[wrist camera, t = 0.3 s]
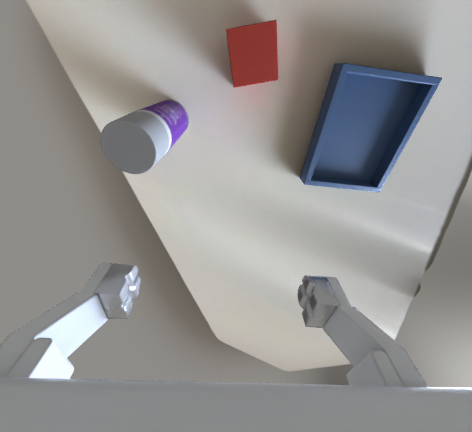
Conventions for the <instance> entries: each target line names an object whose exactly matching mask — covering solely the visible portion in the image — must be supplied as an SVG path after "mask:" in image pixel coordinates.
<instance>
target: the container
mask: <svg viewBox="0 0 472 432" xmlns="http://www.w3.org/2000/svg"><path fill="white" fill-rule="evenodd" d="M188 123H189V119H188V114H187V112H186V110H185V109H184V107H183V106H182V105H181V104H179V103H178V102H176V101H173V100H166V101H162V102H160V103H157V104H154V105H151V106H148V107H146V108H143V109H140V110H137V111H135V112H132V113H130V114H128V115H126V116H123V117H121V118H119V119H117V120H115V121H112V122H110V123H109V124H107V125H106V126H105V127H104V129H103V131H102V133H101V146H102V150H103V152H104V154H105V156H106V157H107V159H108V160H109V161H110V162H111V163H112V164H113V165H114V166H115V167H117V168H118V169H120V170H122V171H124V172H127V173H131V174H141V173H144V172H146V171H148V170H149V169H151V168H152V167H153V166H154V165H155V164H156V163H157V162H158V161H159V160H160V159H161V158H162V157H163V156H164V155H165V154H166V153H167V152H168V150H169V149H170V148H171V147H172V146H173V145H174V143H175V142H176V141H177V140H178V139H179V138H180V136H181V135H182V134H183V133H184V132H185V130H186V129H187V127H188Z"/></svg>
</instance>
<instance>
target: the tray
mask: <svg viewBox="0 0 472 432" xmlns="http://www.w3.org/2000/svg"><path fill="white" fill-rule="evenodd" d="M441 80H442V78H439V77H433V76H426V75H420V74H413V73H407V72H400V71H394V70H387V69H380V68H374V67H367V66H361V65H354V64H348V63H339V64H335V65H334V68H333V71H332V74H331V78H330V81H329V84H328V87H327V91H326V94H325V97H324V101H323V104H322V107H321V110H320V114H319V117H318V120H317V123H316V127H315V130H314V133H313V136H312V140H311V143H310V146H309V149H308V153H307V156H306V159H305V163H304V166H303V169H302V172H301V176H300V179H301V180H302V182H303V183H304V184H305V185H315V186H324V187H334V188H343V189H353V190H362V191H372V192H380V190H381V188H382V186H383V185H384V183H385V181H386V179H387V177H388V176H389V174H390V172H391V170H392V168H393V167H394V165H395V163H396V161H397V159H398V158H399V156H400V154H401V152H402V150H403V149H404V147H405V145H406V143H407V141H408V139H409V138H410V136H411V134H412V132H413V130H414V129H415V127H416V125H417V123H418V121H419V120H420V118H421V116H422V114H423V112H424V111H425V109H426V107H427V105H428V103H429V102H430V100H431V98H432V96H433V94H434V92H435V91H436V89H437V87H438V86H437V85H439V83H440V81H441Z"/></svg>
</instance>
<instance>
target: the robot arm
mask: <svg viewBox="0 0 472 432" xmlns="http://www.w3.org/2000/svg"><path fill="white" fill-rule="evenodd" d="M137 273H138V267H137V266H136V265H125V264H112V263H102V264H100V265H99V266H98V268H97V269H96V271H95V272H94V274H93V275H92V276H91V278H90V279H89V281H88V282H87V284H86V285H85V287H84V288H83V290H82V291H81V293H76V294H74V295H72V296H71V297H69V298H67V299H66V300H64V301H63V302H61V303H59V304H58V305H56V306H55V307H53V308H52V309H50V310H48V311H47V312H45V313H43V314H42V315H40V316H39V317H37V318H35V319H34V320H32V321H31V322H29V323H28V324H26V325H25V326H23V327H21V328H20V329H18V330H17V331H15V332H13V333H11V334H10V335H9V336H8V337H7V338H6V339H5V340H4V341H3V343H2V344H1V345H0V432H472V388H442V387H440V388H439V387H428V386H427V384H426V382H425V381H424V379H423V378H422V376H421V374H420V373H419V371H418V369H417V368H416V366H415V365H414V363H413V361H412V360H411V358H410V357H409V355H408V353H407V352H406V350H405V349H404V348H402V347H401V346H400V345H399V344H398V343H396V342H395V341H394V340H393V339H392V338H391V337H389V336H388V335H387V334H386V333H385V332H383V331H382V330H381V329H380V328H379V327H377V326H376V325H375V324H374V323H373V322H372V321H370V320H369V319H368V318H367V317H366V316H364V315H363V314H362V313H361V312H360V311H359V310H357V309H356V308H355V307H351V305H350V303H349V301H348V299H347V297H346V295H345V293H344V291H343V289H342V288H341V286H340V284H339V282H338V280H337V279H336V278H335V277H324V276H306V275H305V276H304V277H303V279H302V282H303V284H302V285H300V286H299V289H298V301H299V305H300V306H301V307H302V308H303V309H304V310H303V312H302V315H303V319H304V322H305V326H306V327H317V328H323V330H324V331H325V332H326V333H327V335H328V336H329V337H330V338H331V339H332V341H333V342H334V343H335V344H336V346H337V347H338V348H339V349H340V350H341V352H342V353H343V354H344V355H345V356H346V358H347V359H348V360H349V361H350V363H351V364H352V365H353V366H354V368H353V369H352V370H351V371H350V372H349V373H348V374H347V376H346V377H347V380H348V383H349V385H315V384H314V385H311V384H273V383H271V384H270V383H230V382H188V381H145V380H102V379H70V377H71V375H72V373H73V371H74V367H73V365H72V364H71V363H70V361H69V360H68V359H67V357H68V356H69V355H70V354H71V353H73V352H74V351H75V350H76V349H77V348H78V347H79V346H80V345H81V344H82V343H83V342H84V341H85V340H87V339H88V338H89V337H90V336H91V335H92V334H93V333H94V332H95V331H96V330H97V329H98V328H100V327H101V325H103V324H104V323H105V322H106V321H107V320H108V319H127V318H128V317H129V314H130V312H131V310H132V307H133V302H132V300H133V299H135V298H136V297H137V296H138V293H139V290H140V285H141V279H140V276H138V275H137Z"/></svg>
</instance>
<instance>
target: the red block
mask: <svg viewBox="0 0 472 432" xmlns="http://www.w3.org/2000/svg"><path fill="white" fill-rule="evenodd" d="M226 32H227V40H228V48H229V56H230V63H231V71H232V79H233V86H234V87H240V86H246V85H252V84H258V83H263V82H269V81H275V80H278V59H277V24H276V20H273V21H268V22H262V23H257V24H252V25H247V26H241V27H236V28H231V29H226Z"/></svg>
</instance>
